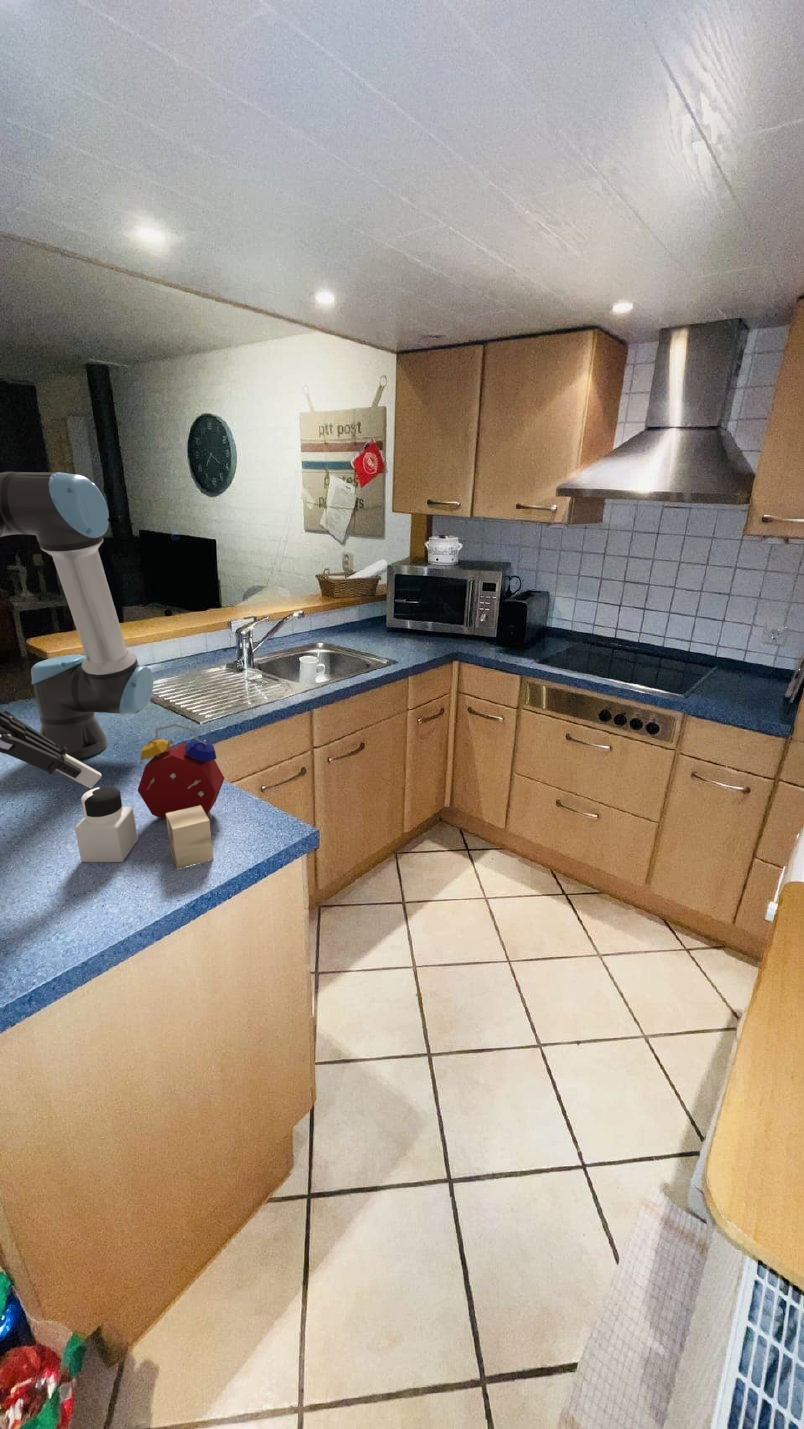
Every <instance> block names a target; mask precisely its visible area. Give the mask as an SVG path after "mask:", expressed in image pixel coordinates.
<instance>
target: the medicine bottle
mask: <svg viewBox="0 0 804 1429" xmlns="http://www.w3.org/2000/svg"><path fill="white" fill-rule="evenodd" d="M80 801H81V805H82V806H81V807H82V811H83V818H82V819H81V820H80V821H79V822H78V824H77V825H75V826H74V831H75V836H76V842H77V847H78V852H79V856H80V861H81V862H82V863H123V861H124V860H125V859H126V858H127V856H128V855H129V853H130V852H131V851H132V849H133V847H134V846H135V845H136V843H137V842H138V833H137V826H136V820H135V814H134V809H133V807H132V806H128V807H127V806H123V802H122V794H121V791H120V789H118V788H117V787H114V786H98V787H94V788H91V789H90V790H87V791H86V792H84V794H83V795H82V796H81V798H80Z"/></svg>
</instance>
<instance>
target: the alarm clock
mask: <svg viewBox="0 0 804 1429" xmlns="http://www.w3.org/2000/svg"><path fill="white" fill-rule="evenodd" d="M173 727H177V728H181V729H185V730H188V731H191V732H194V738H195V740H192V741H191V742H189V743H187V744H186V743H179V744H177V745H175V744H174V742H175V739H173V738H171V739H170V740H169V741H168V740H165V739H164V738H161V739H159V733H158V732H159V731H161V730H165V729H169V728H173ZM154 730H155V731H154V732H155V738H153V739H151V738H148V739H147V741H148V742H147V744H146V745H145V746H143V747H142V748H141V750H140V761H143V760H148V759H150V760H149V761H148V762H147V763H146V764H145V766H144V769H143V772H142V774H141V777H140V778H141V779H140V781H139V783H138V784H139V785H138V787H137V792H138V793H139V795H140V797H141V799H142V800H143V802H144V804H145V806H146V807H147V809H148V810H149V812H150V813H151V815H152V816H155V817H157V818H159V819H163V820H166V813H169V812H174V811H178V810H182V809H187V808H191V807H195V806H200V805H201V806H202V808H203V810H204V812H205V814H206V815H207V817H208V819H212V818H213V815H212V813H211V809H212V808H213V806H214V805H215V804H216V802H217V800H218V797H219V794H220V792H221V789H222V786H223V783H224V781H225V777H224V775H223V773H222V771H221V769H220V767H219V766H218V764H217V761H216V760H217V753H216V750H215V746H214V745H213V744H211V743H210V742H208V741H207V740H205V739H204V740H200V739H199V738H198V735H197V729H195V728H190V727H188V726H183V725H180V724H177V723H174V724H169V725H166V726H161V727H158V728H155V729H154ZM172 745H173V747H171V746H172ZM166 821H167V820H166Z"/></svg>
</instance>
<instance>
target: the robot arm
mask: <svg viewBox="0 0 804 1429" xmlns="http://www.w3.org/2000/svg"><path fill="white" fill-rule="evenodd" d="M109 518H110V515H109V509H108V506H107V502H106V500H105V497H104V496H103V494H102V492H101V490H100V489H99V488H98V486H97V485H96V484H95V483H94V482H92V481H91V480H90V479H89V478H87V477H86V476H83V475H81V474H77V473H75V474H73V473H66V472H62V471H59V472H54V471H52V472H49V471H48V472H45V471H43V472H41V471H40V472H34V471H32V472H31V471H30V472H29V471H27V472H23V471H4V472H0V538H2V537H6V536H11V535H28V536H30V535H32V536H36V540H37V542H38V544H39V548H40V550H41V551H43V552H45V553H47V554H48V555H50V556H51V557H52V559H53V560H52V561H53V563H54V565H55V568H56V571H57V575H58V578H59V580H60V584H61V587H62V589H63V592H64V595H65V598H66V601H67V604H68V608H69V610H70V612H71V613H70V614H71V616H72V620H73V623H74V625H75V628H76V632H77V634H78V637H79V640H80V643H81V647H82V649H83V652H84V655H85V656H84V655H82V654H69V655H68V654H67V655H59V656H56V657H51V658H48V659H45V660H42V661H39V662H37V663H35V664H34V665H33V666H32V667H31V669H30V676H31V685H32V688H33V693H34V697H35V702H36V706H37V711H38V717H39V722H40V727H39V731H37V730H36V729H34V728H32V727H31V726H29V725H28V724H27V723H24V721H21V720H20V719H18V718H17V717H16V715H15V716H14V715H13V714H12V713H11V712H10V711H8V710H4V711H0V753H1V754H4V755H5V754H6V755H8V756H10V757H13V758H15V759H18V760H20V761H22V762H25V763H27V764H29V765H31V766H34V767H36V768H38V769H41V770H43V771H45V772H48V774H49V775H52V774H53V773H54V772H55V771H56V772H58V773H60V774H62V775H63V776H66V777H68V778H70V779H72V780H73V781H75V782H77V783H79V784H80V785H83V786H84V787H87V788H88V789H90V790H92V789H93V787H94V786H95V785H96V784H97V783H98V781H99V780H100V779H101V778H102V773H101V772H99V771H98V770H96V769H94V768H93V767H91V766H89V765H87V764H86V763H84V762H82V761H80V760H81V759H82V760H83V759H87V758H89V757H92V756H95V755H97V754H99V753H102V752H103V751H104V750H105V749H107V747H108V744H109V743H108V738H107V735H106V733H105V731H104V729H103V727H102V726H101V724H100V723H99V721H98V719H97V716H96V713H100V714H103V713H104V714H121V715H123V716H124V715H136V714H140V713H141V712H143V711H144V710H146V708H147V707H148V705H149V703H150V701H151V699H152V694H153V691H154V675H153V672H152V670H151V669H150V668H149V667H148V666H146V665H144V664H141V665H140V664H139V661H138V658H137V655H136V654H135V652H134V651H132V650H130V649H128V648H127V646H126V641H125V639H124V636H123V632H122V627H121V625H120V622H119V618H118V614H117V610H116V606H115V605H114V601H113V597H112V592H111V590H110V587H109V584H108V581H107V576H106V573H105V569H104V565H103V562H102V559H101V556H100V552H99V548H100V547H101V545H102V544H103V543H104V537H103V536H104V534H106V532H107V531H108V528H109V525H110V523H109V520H108V519H109Z"/></svg>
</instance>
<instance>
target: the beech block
mask: <svg viewBox="0 0 804 1429" xmlns="http://www.w3.org/2000/svg"><path fill="white" fill-rule="evenodd" d="M210 823H211V822H210V818H208V817H207V815H206V814H205V812H204V810H203V808H202V806H201V805H200V806H195V807H191V808H187V809H182V810H178V811H174V812H169V813H166V828H167V834H168V842H169V849H170V854H171V855H172V856H173V857H172V859H173V861H174V863H175V866H176V868H178V869H179V870H181V869H180V868H182V869H185V868H184V867H186V866H190V865H193V864H197V865H199V864H198V863H200V864H203V863H202V862H204V863H206V862H205V861H207V862H209V861H208V860H211V859H213V860H214V854H213V843H212V835H211V834H212V833H211V824H210ZM211 861H212V860H211ZM193 866H194V865H193ZM190 867H191V866H190ZM186 868H187V867H186ZM178 869H177V870H178Z"/></svg>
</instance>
